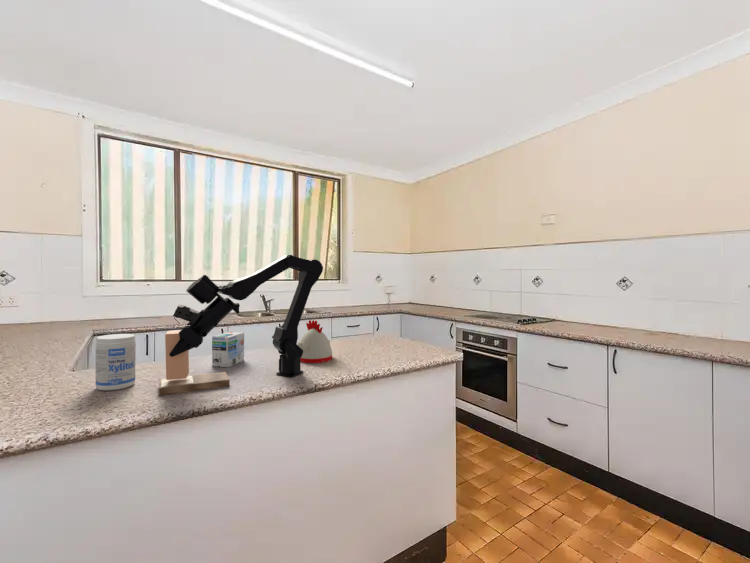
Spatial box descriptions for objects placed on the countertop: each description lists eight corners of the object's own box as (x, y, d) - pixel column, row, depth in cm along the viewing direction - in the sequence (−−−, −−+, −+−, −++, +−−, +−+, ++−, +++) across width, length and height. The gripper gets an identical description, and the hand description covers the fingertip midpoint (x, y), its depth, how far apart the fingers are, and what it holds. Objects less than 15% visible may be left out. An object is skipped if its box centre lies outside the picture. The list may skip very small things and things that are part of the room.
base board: (225, 378, 117) (225, 371, 116) (229, 386, 109) (229, 378, 109) (159, 386, 108) (159, 378, 108) (158, 395, 100) (158, 387, 100)
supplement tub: (111, 393, 101) (111, 340, 101) (87, 389, 104) (86, 337, 103) (143, 383, 110) (143, 334, 110) (120, 379, 113) (119, 332, 113)
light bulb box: (228, 367, 128) (228, 337, 128) (211, 366, 130) (211, 336, 129) (245, 360, 139) (245, 332, 138) (228, 359, 140) (229, 331, 140)
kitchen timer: (314, 353, 153) (314, 317, 152) (339, 358, 145) (339, 320, 144) (288, 359, 142) (288, 320, 141) (314, 365, 134) (314, 324, 133)
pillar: (188, 373, 109) (188, 329, 108) (186, 378, 104) (185, 333, 104) (170, 374, 108) (168, 330, 107) (166, 380, 103) (165, 334, 102)
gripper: (196, 292, 115) (156, 329, 112) (187, 297, 98) (140, 341, 94) (223, 317, 118) (185, 353, 115) (219, 326, 100) (174, 369, 97)
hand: (172, 353), depth 105 cm, fingers closed on pillar, 5 cm apart
